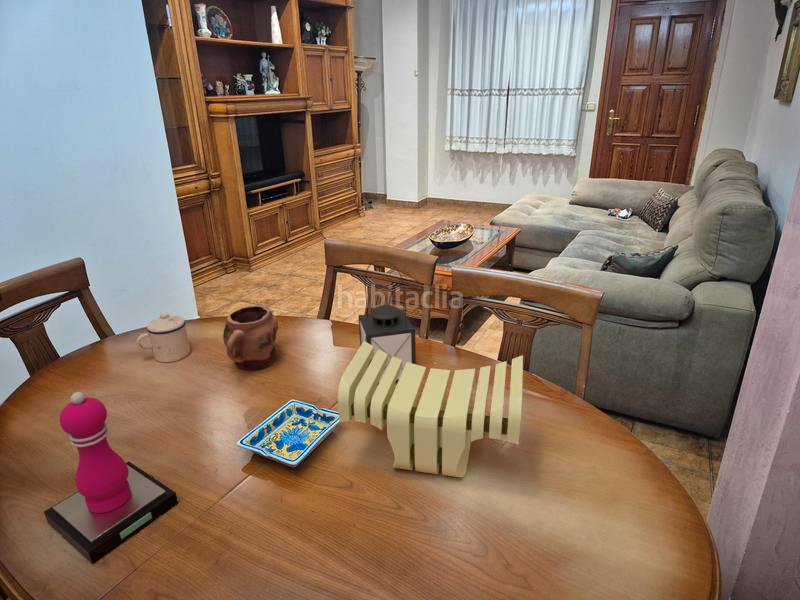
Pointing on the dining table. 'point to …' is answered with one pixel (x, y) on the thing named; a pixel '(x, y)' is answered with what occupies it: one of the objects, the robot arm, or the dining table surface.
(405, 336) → the lantern
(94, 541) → the kitchen scale
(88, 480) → the pepper mill
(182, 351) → the teacup with lid
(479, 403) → the slatted curved stool
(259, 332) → the decorative planter
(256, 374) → the dining table surface
